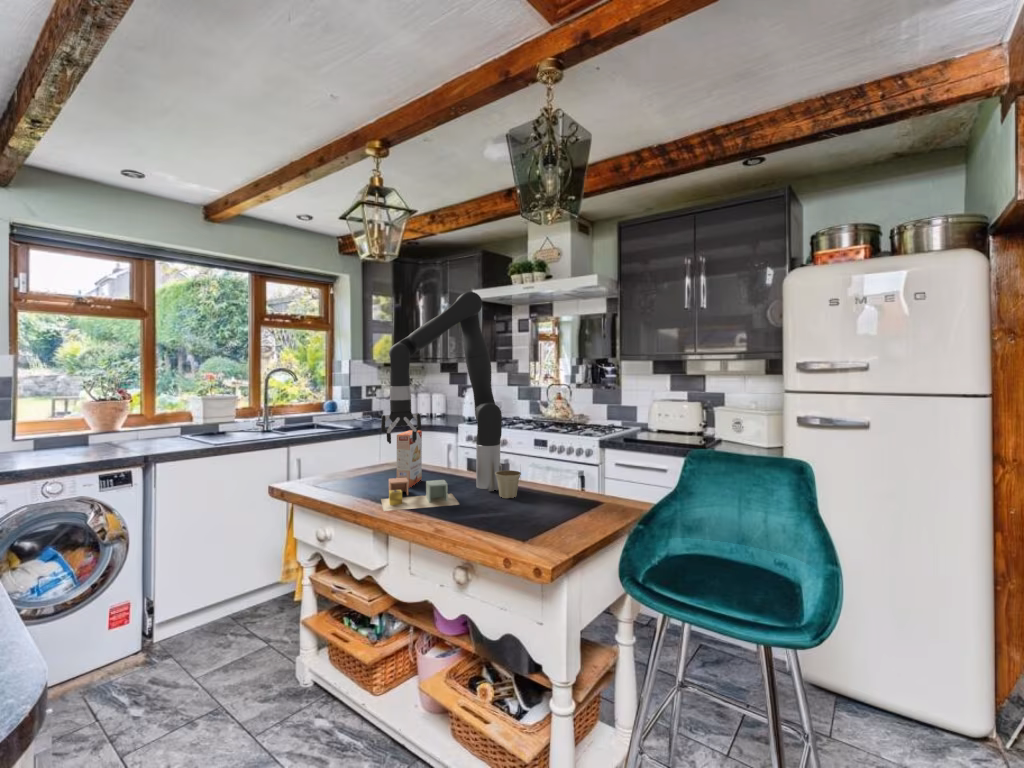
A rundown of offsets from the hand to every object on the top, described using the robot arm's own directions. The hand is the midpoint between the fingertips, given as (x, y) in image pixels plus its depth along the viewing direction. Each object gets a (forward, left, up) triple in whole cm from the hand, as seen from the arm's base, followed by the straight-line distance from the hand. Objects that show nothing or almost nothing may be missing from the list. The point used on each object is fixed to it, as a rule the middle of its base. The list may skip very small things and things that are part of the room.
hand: (401, 442), depth 189 cm
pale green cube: (-10, +14, -18) cm, 25 cm away
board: (-4, +15, -19) cm, 25 cm away
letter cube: (+4, +14, -18) cm, 24 cm away
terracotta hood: (+2, +2, -19) cm, 19 cm away
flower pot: (-36, +14, -19) cm, 44 cm away
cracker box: (-4, -15, -19) cm, 25 cm away
